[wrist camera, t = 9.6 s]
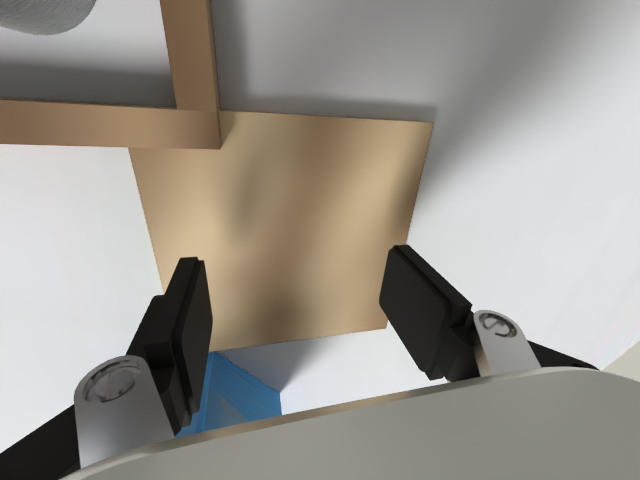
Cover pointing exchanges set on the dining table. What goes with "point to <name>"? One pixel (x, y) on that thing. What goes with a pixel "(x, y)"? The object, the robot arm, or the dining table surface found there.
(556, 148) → the dining table surface
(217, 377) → the perfume bottle
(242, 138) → the mat
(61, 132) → the collar
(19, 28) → the peg
